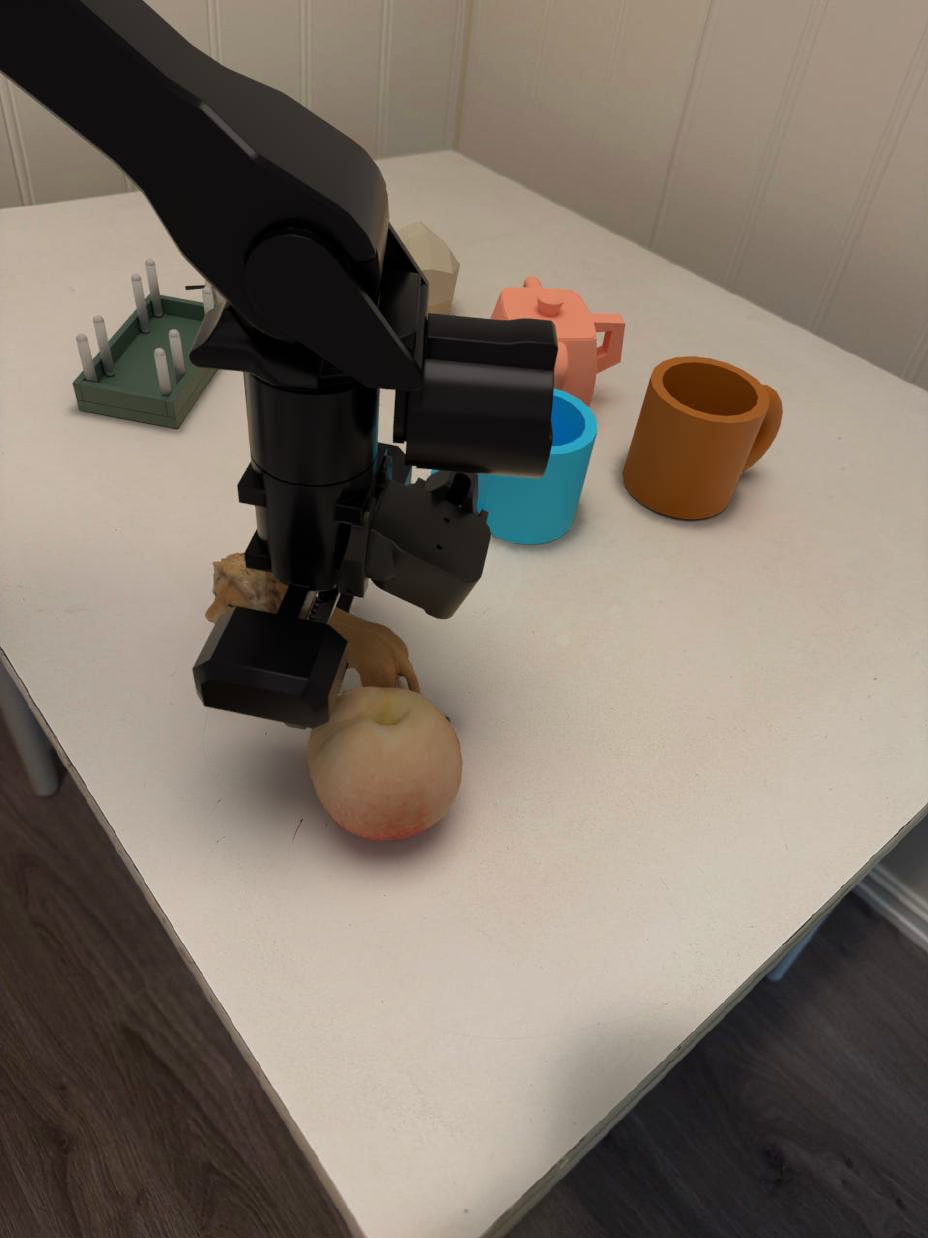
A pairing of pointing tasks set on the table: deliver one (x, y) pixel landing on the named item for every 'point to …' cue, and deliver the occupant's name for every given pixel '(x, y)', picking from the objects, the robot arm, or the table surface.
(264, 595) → the lion figurine
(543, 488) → the mug
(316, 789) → the fruit
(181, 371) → the drying rack
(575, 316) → the teapot
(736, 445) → the mug
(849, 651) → the table surface
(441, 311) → the faceted club
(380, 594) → the table surface
